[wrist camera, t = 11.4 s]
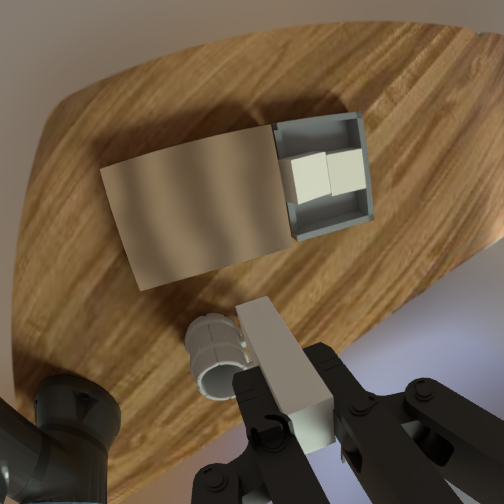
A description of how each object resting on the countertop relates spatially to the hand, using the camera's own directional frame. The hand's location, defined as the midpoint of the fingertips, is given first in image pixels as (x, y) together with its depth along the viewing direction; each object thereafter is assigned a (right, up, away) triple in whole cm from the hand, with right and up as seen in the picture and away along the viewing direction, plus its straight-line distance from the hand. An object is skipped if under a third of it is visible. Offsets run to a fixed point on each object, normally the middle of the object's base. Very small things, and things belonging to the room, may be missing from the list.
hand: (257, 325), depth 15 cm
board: (-6, +9, +22) cm, 24 cm away
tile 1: (+11, +13, +22) cm, 28 cm away
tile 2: (+5, +12, +22) cm, 26 cm away
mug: (-4, -7, +29) cm, 30 cm away
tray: (+8, +13, +24) cm, 29 cm away
